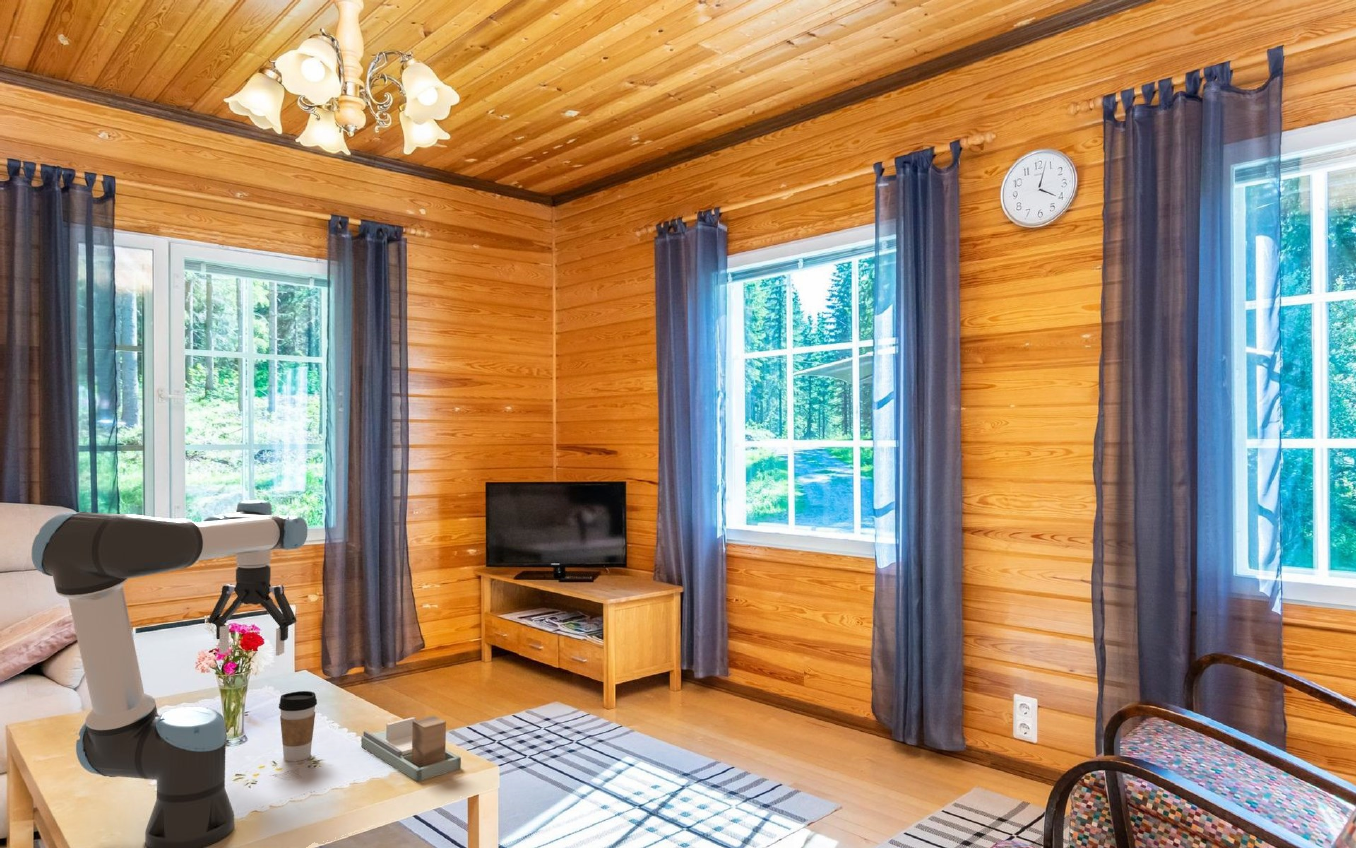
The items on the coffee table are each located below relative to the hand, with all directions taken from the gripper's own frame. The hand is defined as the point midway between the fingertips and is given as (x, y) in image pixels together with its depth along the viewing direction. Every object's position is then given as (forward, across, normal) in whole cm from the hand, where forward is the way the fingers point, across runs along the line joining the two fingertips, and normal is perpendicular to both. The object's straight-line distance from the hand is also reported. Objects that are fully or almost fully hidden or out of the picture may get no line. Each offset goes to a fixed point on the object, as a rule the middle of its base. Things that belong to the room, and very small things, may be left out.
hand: (251, 653), depth 208 cm
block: (+24, -45, +6) cm, 51 cm away
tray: (+24, -38, 0) cm, 45 cm away
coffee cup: (+24, -12, +1) cm, 27 cm away
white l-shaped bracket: (+21, -38, -1) cm, 44 cm away
